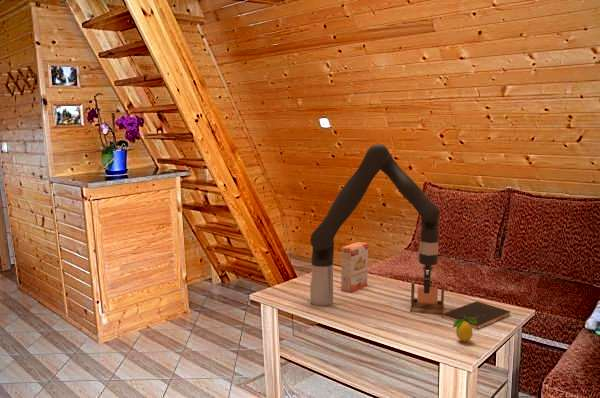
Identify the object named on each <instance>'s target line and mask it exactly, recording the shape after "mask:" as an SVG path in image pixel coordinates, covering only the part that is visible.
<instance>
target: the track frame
mask: <svg viewBox="0 0 600 398" xmlns="http://www.w3.org/2000/svg"><path fill="white" fill-rule="evenodd" d="M440 293H441V295H440V297H441V298H440V300H438V299H437V305H436V304H424V303H417V298H415V280H412V281H411V291H410V310H409V312H410V313H416V314H427V315H437V316H438V315H439V316H442V314H443V313H444V302H445V300H444V299H445V282H441V292H440Z"/></svg>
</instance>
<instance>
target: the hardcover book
mask: <svg viewBox="0 0 600 398" xmlns="http://www.w3.org/2000/svg"><path fill="white" fill-rule="evenodd" d="M511 312H512V311H511V310H507V309H504V308H501V307H497V306H494V305H491V304H488V303H484V302H480V301H479V300H478V301H477V300H476V301H474V302H470V303H468V304H465V305H462V306H460V307H457V308H454V309H452V310H449V311H446V312H443V314H442V315H441V318H442V319H445V318H446V320H448V319H449V320H448V321H451V320H452V322H454V321H457V320H459V319H462V320H463V319H464V315H465V321H466V322H468V323H469V324H470V325H471V327H472V329H474V328H475V329H474V330H478V329H480V328H479V327H481V328H483V327H485V326H484V325H486V324H488V325H490V324H492V323H491V322H493V321H495V320H497V321H499V320H498V319H500V318H502V317H504V318H506V317H505V316H507V315H509V316H510V313H511ZM467 317H473V318H475V319H476V321H477V323H476V324H473V323H471V322H469V321H468V319H467ZM507 317H508V316H507ZM502 319H503V318H502ZM500 320H501V319H500ZM463 321H464V320H463ZM495 322H496V321H495ZM489 323H490V324H489ZM493 323H494V322H493ZM482 326H483V327H482ZM486 326H487V325H486ZM477 328H478V329H477Z"/></svg>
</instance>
